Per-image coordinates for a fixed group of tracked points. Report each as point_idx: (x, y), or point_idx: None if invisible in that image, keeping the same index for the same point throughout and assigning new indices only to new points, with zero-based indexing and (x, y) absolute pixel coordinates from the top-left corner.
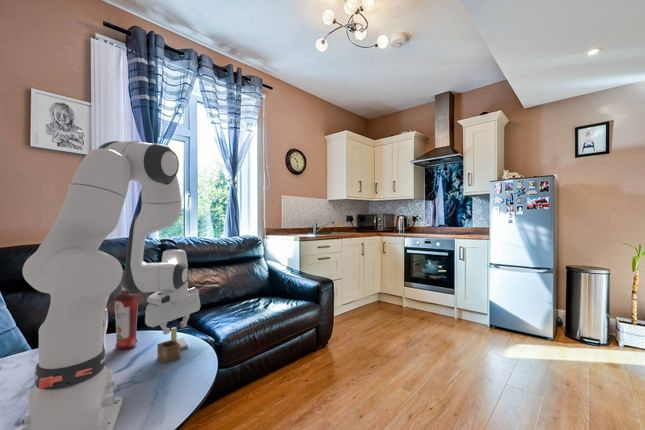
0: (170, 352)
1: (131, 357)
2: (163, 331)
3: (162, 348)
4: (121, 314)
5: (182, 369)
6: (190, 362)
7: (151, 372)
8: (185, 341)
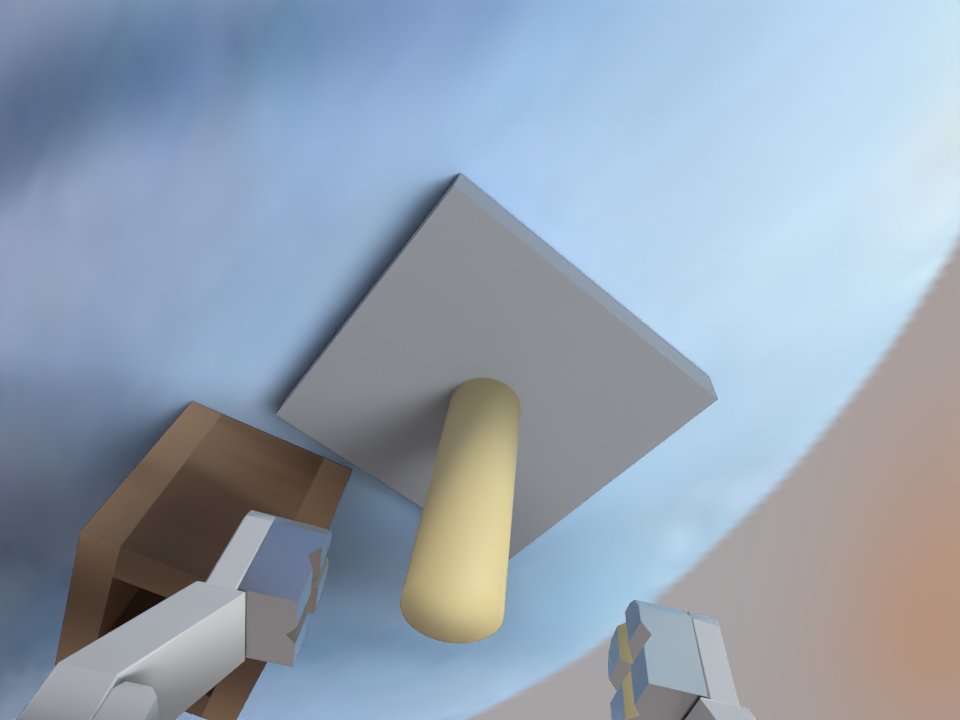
0: None
1: (20, 34)
2: (231, 552)
3: (62, 632)
4: None
5: None
6: None
7: (24, 507)
8: (602, 486)
